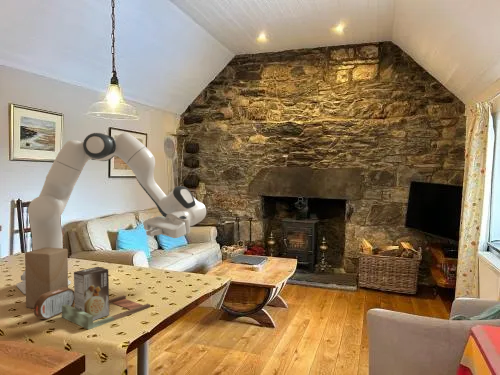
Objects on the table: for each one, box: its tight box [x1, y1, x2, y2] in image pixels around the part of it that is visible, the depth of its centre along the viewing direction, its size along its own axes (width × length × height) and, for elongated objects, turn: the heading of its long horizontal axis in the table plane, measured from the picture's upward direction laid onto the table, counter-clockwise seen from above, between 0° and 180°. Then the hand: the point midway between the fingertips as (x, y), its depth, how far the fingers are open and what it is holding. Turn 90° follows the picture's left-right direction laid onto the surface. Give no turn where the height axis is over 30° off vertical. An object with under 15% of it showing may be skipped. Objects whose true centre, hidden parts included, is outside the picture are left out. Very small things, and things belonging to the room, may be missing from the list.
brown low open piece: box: [61, 295, 151, 330], centre depth 131 cm, size 16×24×4 cm, turn 144°
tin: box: [33, 287, 75, 320], centre depth 129 cm, size 15×3×8 cm, turn 159°
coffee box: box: [73, 266, 110, 321], centre depth 126 cm, size 9×6×16 cm
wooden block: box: [24, 247, 69, 309], centre depth 138 cm, size 10×10×20 cm
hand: (148, 234), depth 147 cm, fingers closed
